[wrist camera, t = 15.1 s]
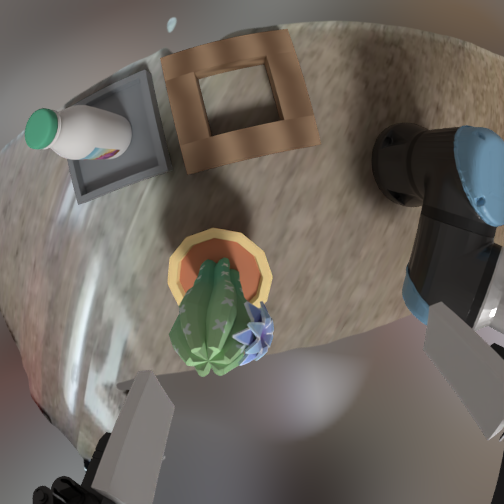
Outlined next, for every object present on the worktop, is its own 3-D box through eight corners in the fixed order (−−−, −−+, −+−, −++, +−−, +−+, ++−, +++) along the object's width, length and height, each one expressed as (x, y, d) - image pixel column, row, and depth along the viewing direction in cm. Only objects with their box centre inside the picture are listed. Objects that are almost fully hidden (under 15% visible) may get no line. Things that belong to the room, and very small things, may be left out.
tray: (151, 74, 36) (145, 69, 33) (173, 170, 41) (167, 170, 38) (68, 114, 37) (59, 113, 34) (86, 202, 42) (78, 204, 39)
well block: (284, 39, 34) (287, 29, 30) (314, 145, 40) (321, 144, 36) (167, 65, 35) (160, 58, 32) (192, 173, 41) (187, 174, 38)
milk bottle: (106, 110, 36) (30, 89, 17) (140, 122, 38) (71, 100, 19) (89, 151, 38) (9, 153, 19) (122, 165, 40) (46, 172, 21)
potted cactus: (244, 313, 49) (243, 424, 26) (167, 279, 47) (110, 374, 23) (284, 241, 45) (322, 324, 21) (199, 201, 43) (144, 247, 19)
